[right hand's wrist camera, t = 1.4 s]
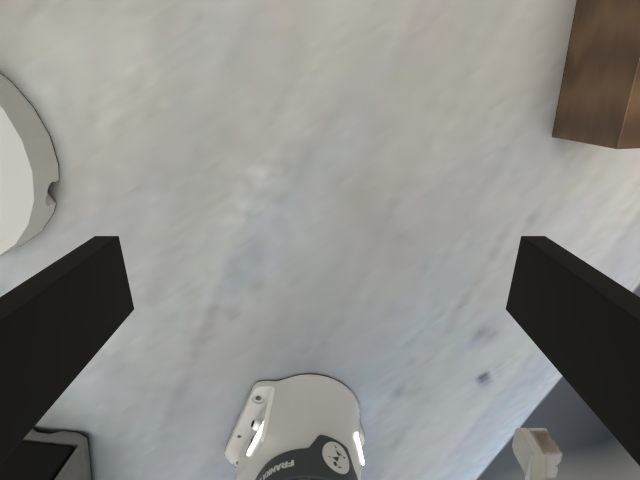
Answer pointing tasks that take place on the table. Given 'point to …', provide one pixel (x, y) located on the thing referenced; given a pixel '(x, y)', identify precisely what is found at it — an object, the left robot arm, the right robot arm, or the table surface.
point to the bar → (602, 76)
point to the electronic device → (48, 458)
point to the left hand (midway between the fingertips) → (613, 434)
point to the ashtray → (23, 170)
